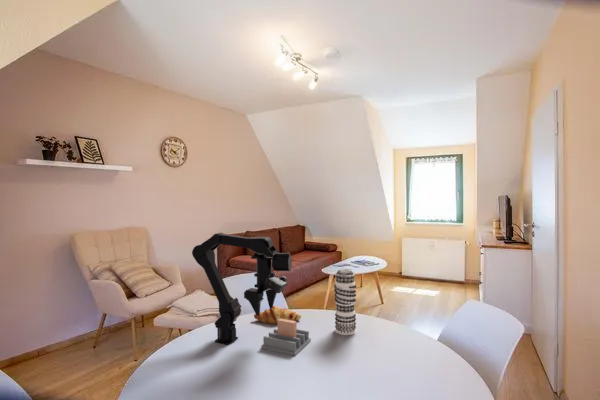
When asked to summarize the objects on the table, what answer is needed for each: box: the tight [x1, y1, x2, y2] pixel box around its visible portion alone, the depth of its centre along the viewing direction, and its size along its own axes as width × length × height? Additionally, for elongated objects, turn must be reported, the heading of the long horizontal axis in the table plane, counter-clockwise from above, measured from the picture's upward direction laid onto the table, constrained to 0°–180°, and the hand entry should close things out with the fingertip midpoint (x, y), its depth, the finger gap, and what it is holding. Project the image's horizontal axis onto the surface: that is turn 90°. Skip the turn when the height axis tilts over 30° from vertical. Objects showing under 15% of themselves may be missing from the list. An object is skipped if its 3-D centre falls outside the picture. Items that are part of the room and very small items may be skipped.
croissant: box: [253, 305, 302, 325], centre depth 147 cm, size 21×10×8 cm, turn 91°
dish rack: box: [260, 328, 312, 357], centre depth 122 cm, size 14×13×4 cm
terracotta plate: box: [277, 318, 298, 338], centre depth 122 cm, size 7×2×8 cm, turn 64°
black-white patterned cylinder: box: [333, 268, 357, 336], centre depth 135 cm, size 9×9×25 cm
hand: (264, 311), depth 124 cm, fingers open, 9 cm apart
